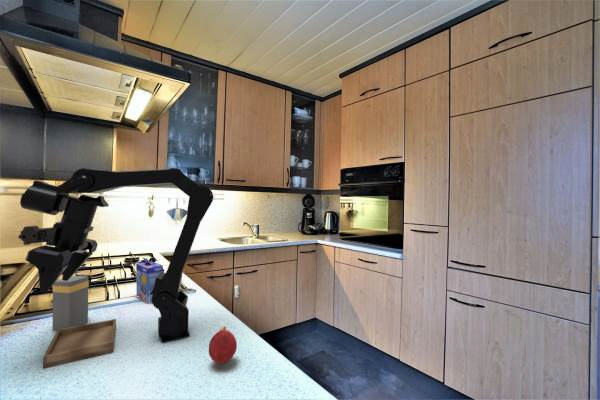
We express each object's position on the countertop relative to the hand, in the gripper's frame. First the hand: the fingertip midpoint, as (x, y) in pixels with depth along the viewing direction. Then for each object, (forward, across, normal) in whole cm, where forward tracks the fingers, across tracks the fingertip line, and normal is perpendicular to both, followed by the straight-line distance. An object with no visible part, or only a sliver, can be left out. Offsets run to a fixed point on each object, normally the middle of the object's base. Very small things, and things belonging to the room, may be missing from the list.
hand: (54, 286), depth 64 cm
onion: (+4, +17, +40) cm, 43 cm away
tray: (+12, 0, +10) cm, 16 cm away
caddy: (+15, -13, +2) cm, 20 cm away
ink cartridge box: (+11, -30, +17) cm, 36 cm away
